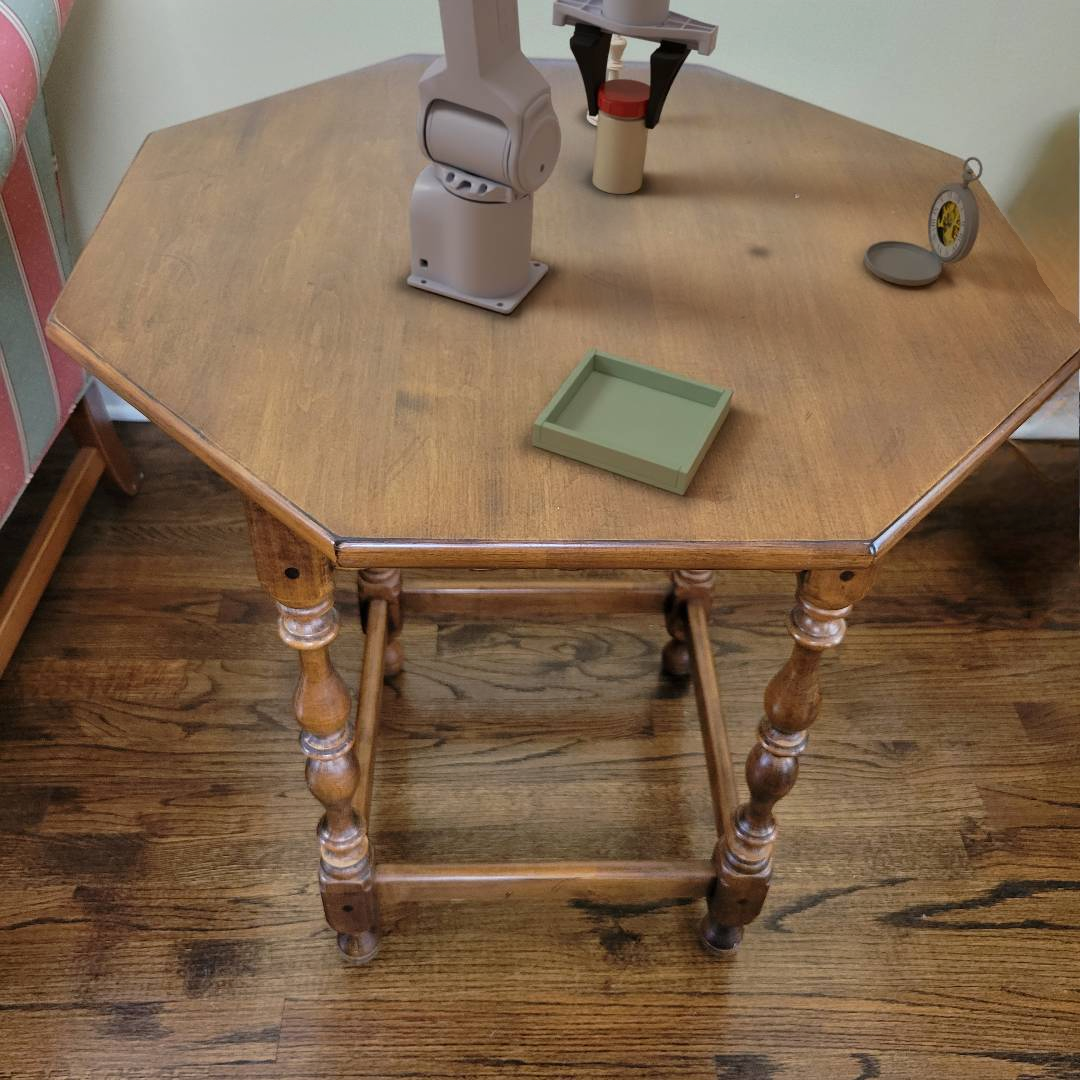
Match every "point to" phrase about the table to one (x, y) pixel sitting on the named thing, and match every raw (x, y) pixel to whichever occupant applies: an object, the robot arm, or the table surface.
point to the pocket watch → (932, 238)
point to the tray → (633, 420)
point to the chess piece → (613, 64)
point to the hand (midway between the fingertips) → (624, 118)
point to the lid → (623, 98)
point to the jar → (619, 153)
